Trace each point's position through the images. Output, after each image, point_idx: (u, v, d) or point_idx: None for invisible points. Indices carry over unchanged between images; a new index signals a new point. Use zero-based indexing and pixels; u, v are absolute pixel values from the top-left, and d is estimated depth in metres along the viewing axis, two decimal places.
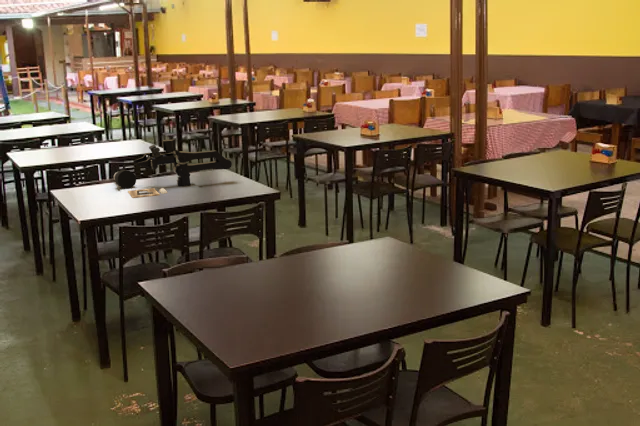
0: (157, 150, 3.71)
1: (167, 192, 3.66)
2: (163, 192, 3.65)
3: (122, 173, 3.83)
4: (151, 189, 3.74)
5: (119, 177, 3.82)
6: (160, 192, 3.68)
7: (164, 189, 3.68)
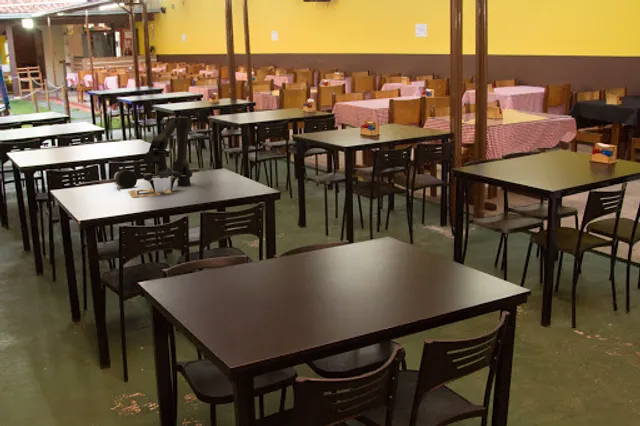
0: (171, 170, 3.62)
1: None
2: (168, 191, 3.66)
3: (123, 173, 3.83)
4: (151, 189, 3.74)
5: (120, 177, 3.82)
6: (166, 189, 3.69)
7: None
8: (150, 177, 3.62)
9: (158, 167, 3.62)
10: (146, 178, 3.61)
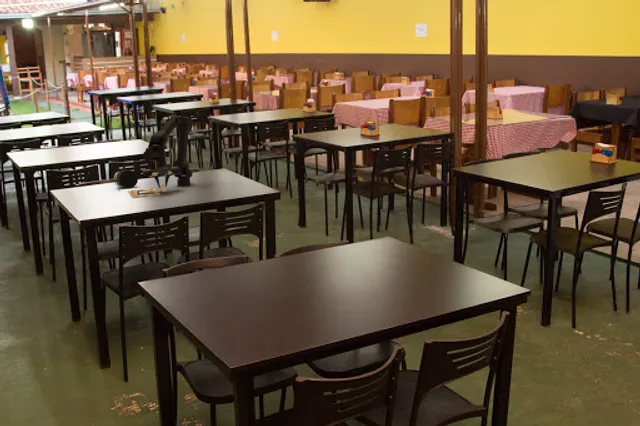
0: None
1: (164, 186, 3.65)
2: (162, 189, 3.65)
3: (124, 173, 3.83)
4: (151, 189, 3.74)
5: (121, 177, 3.82)
6: None
7: (160, 185, 3.67)
8: (149, 173, 3.61)
9: (157, 163, 3.61)
10: (145, 174, 3.60)
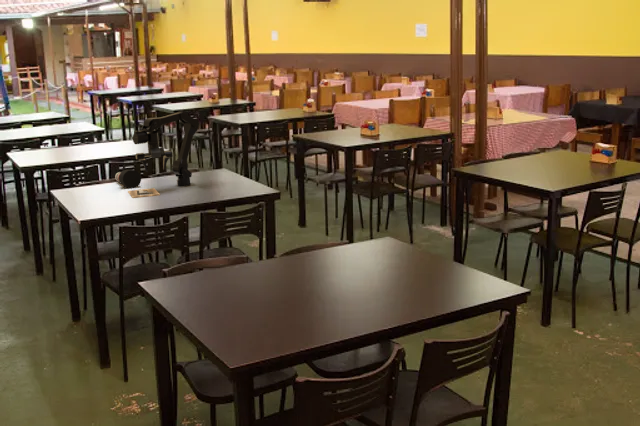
0: (163, 150, 3.65)
1: (140, 191, 3.64)
2: None
3: (127, 173, 3.84)
4: (151, 189, 3.74)
5: (124, 177, 3.83)
6: None
7: None
8: (142, 157, 3.65)
9: (150, 147, 3.65)
10: (138, 158, 3.64)
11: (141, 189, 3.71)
